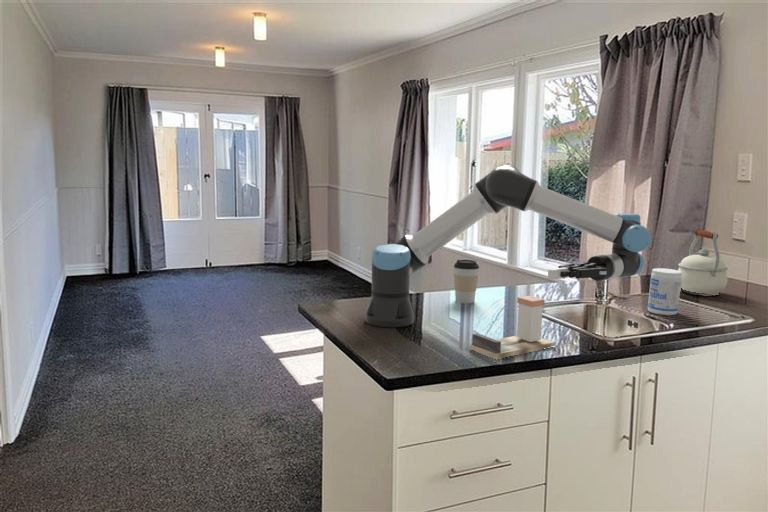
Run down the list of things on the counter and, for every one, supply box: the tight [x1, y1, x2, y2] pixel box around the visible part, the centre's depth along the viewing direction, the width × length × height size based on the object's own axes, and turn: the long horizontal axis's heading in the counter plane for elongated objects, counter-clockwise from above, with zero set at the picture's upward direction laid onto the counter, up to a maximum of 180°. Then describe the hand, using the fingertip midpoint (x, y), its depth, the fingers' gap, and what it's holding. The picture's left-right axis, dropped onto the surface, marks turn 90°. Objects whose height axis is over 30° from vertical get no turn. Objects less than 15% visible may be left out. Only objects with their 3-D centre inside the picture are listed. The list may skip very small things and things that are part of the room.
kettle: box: [677, 228, 729, 294], centre depth 252 cm, size 25×18×25 cm
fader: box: [516, 295, 546, 342], centre depth 174 cm, size 5×6×11 cm
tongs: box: [607, 291, 628, 300], centre depth 243 cm, size 4×13×2 cm, turn 34°
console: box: [469, 332, 556, 361], centre depth 172 cm, size 22×10×4 cm, turn 124°
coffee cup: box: [453, 259, 480, 305], centre depth 227 cm, size 9×9×15 cm
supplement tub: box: [647, 267, 682, 316], centre depth 217 cm, size 10×10×15 cm
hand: (550, 274), depth 176 cm, fingers closed
